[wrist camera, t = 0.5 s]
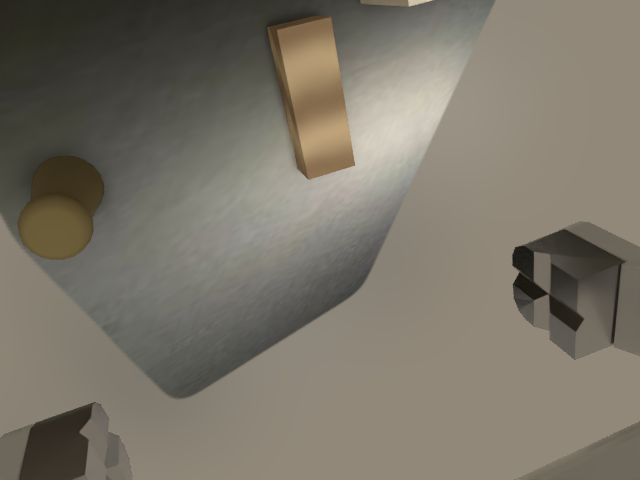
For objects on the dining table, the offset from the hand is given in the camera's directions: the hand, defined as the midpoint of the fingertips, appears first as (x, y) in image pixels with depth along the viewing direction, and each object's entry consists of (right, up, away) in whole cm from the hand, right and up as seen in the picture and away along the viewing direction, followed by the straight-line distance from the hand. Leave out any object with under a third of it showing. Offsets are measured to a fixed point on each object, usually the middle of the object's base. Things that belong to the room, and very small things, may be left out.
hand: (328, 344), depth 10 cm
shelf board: (-2, +16, +42) cm, 45 cm away
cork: (-23, +7, +38) cm, 46 cm away
